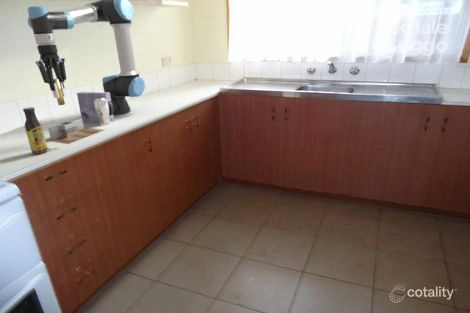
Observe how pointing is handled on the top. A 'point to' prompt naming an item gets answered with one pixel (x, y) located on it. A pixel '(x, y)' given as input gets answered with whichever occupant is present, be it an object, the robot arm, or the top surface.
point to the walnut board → (77, 136)
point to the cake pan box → (88, 105)
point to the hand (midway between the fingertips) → (59, 96)
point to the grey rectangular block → (59, 131)
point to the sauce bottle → (34, 132)
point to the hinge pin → (59, 92)
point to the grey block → (69, 125)
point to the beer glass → (102, 110)
